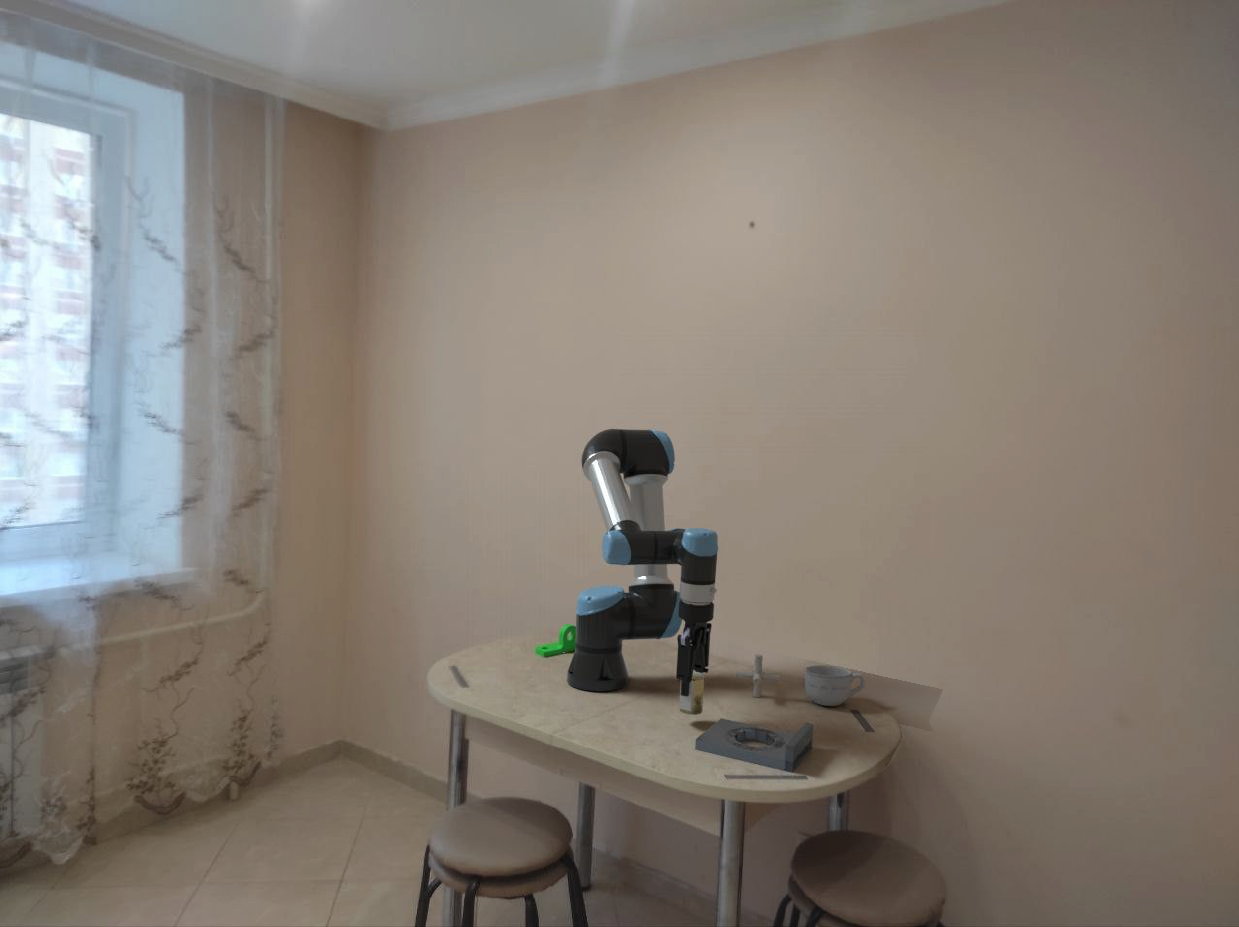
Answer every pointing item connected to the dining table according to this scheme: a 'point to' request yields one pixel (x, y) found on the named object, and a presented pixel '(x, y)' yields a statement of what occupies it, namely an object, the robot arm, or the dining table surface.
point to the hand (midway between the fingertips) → (690, 704)
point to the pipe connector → (757, 676)
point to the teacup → (830, 684)
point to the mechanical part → (559, 643)
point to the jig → (779, 753)
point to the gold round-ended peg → (696, 696)
